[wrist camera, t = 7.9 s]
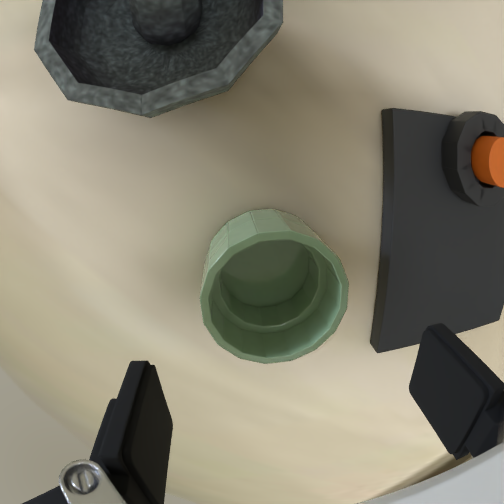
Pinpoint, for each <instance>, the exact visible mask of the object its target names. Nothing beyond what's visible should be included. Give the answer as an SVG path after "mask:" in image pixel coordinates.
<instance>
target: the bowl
mask: <svg viewBox="0 0 504 504" xmlns="http://www.w3.org/2000/svg"><path fill="white" fill-rule="evenodd" d="M348 287H349V283H348V279H347V277H346V274H345V271H344V269H343V266H342V264H341V261H340V259H339V258H338V256H337V255H336V254H335V253H334V252H333V251H332V250H331V249H330V248H329V247H328V246H327V245H326V244H325V243H324V242H323V241H322V239H321V238H320V237H319V236H318V235H317V234H316V233H315V232H314V231H313V230H312V229H311V228H310V227H309V226H307V225H306V224H305V223H304V222H303V221H302V220H301V219H300V218H299V217H297V216H295V215H292V214H289V213H286V212H283V211H280V210H277V209H275V210H274V209H263V210H251V211H248V212H246V213H244V214H242V215H240V216H238V217H236V218H234V219H232V220H230V221H229V222H227V223H226V224H225V225H224V226H223V227H222V228H221V230H220V231H219V232H218V233H217V234H216V235H215V237H214V238H213V239H212V241H211V244H210V247H209V250H208V253H207V256H206V260H205V265H204V272H203V278H202V285H201V291H200V304H201V311H202V317H203V323H204V325H205V326H206V328H207V329H208V331H209V332H210V334H211V335H212V337H213V338H214V340H215V341H216V343H217V344H218V345H219V346H221V347H222V348H224V349H225V350H227V351H229V352H230V353H232V354H233V355H235V356H236V357H238V358H240V359H244V360H249V361H254V362H259V363H264V364H268V363H277V362H285V361H291V360H294V359H297V358H299V357H301V356H303V355H305V354H308V353H310V352H312V351H314V350H316V349H317V348H318V347H319V346H320V345H321V344H323V343H324V342H325V341H326V340H327V339H328V338H329V337H330V336H331V335H332V334H333V333H334V332H335V331H336V329H337V327H338V325H339V323H340V321H341V319H342V317H343V315H344V313H345V311H346V309H347V301H348Z"/></svg>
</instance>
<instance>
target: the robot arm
mask: <svg viewBox="0 0 504 504" xmlns="http://www.w3.org/2000/svg"><path fill="white" fill-rule="evenodd" d="M409 391H410V394H411V395H412V397H413V398H414V400H415V401H416V403H417V404H418V406H419V407H420V409H421V411H422V412H423V414H424V415H425V417H426V418H427V420H428V421H429V423H430V424H431V426H432V427H433V429H434V430H435V432H436V434H437V435H438V437H439V438H440V440H441V441H442V443H443V445H444V446H445V448H446V449H447V451H448V452H449V453H450V454H453V455H454V457H455V458H456V460H457V459H460V458H462V457H464V456H466V455H468V453H469V452H470V453H471V455H472V458H471V460H469V461H467V462H465V463H463V464H461V465H459V466H457V467H455V468H453V469H450V470H448V471H446V472H444V473H442V474H439V475H437V476H435V477H432V478H430V479H427V480H425V481H422V482H420V483H417V484H415V485H412V486H409V487H407V488H404V489H401V490H398V491H396V492H393V493H390V494H387V495H384V496H380V497H377V498H374V499H371V500H367V501H364V502H360V503H356V504H504V383H503V382H502V381H501V380H500V379H499V378H498V377H497V376H496V374H495V373H494V372H493V371H492V370H491V369H490V368H489V367H488V366H487V365H486V364H485V363H484V362H483V361H482V360H481V359H480V358H479V357H478V356H477V355H476V354H475V353H474V352H473V351H472V350H471V349H470V348H469V347H467V346H466V345H465V344H464V343H463V342H462V341H461V340H460V339H459V338H458V337H457V336H456V335H455V334H454V333H453V332H452V331H451V330H450V329H449V328H448V327H447V326H445V325H444V324H443V323H438V324H433V325H429V326H427V328H426V330H425V331H424V332H423V334H422V338H421V342H420V347H419V351H418V355H417V359H416V362H415V366H414V370H413V374H412V377H411V381H410V384H409ZM172 430H173V423H172V418H171V415H170V412H169V409H168V406H167V403H166V400H165V397H164V394H163V390H162V387H161V384H160V381H159V377H158V374H157V371H156V367H155V366H154V365H150V363H149V362H148V361H131V362H130V364H129V367H128V369H127V372H126V375H125V378H124V380H123V383H122V386H121V389H120V391H119V394H118V397H117V399H111V400H110V402H109V404H108V407H107V409H106V412H105V415H104V418H103V421H102V423H101V426H100V429H99V432H98V435H97V438H96V441H95V444H94V447H93V450H92V453H91V456H90V459H89V460H76V461H73V462H71V463H69V464H68V465H66V466H65V467H64V468H63V469H62V471H61V473H60V475H59V484H60V486H58V487H56V488H54V489H52V490H50V491H48V492H46V493H44V494H41V495H39V496H37V497H35V498H33V499H31V500H29V501H27V502H24V503H23V504H164V497H165V488H166V478H167V470H168V461H169V453H170V445H171V437H172Z"/></svg>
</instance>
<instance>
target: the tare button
mask: <svg viewBox="0 0 504 504" xmlns="http://www.w3.org/2000/svg"><path fill="white" fill-rule="evenodd" d="M471 166H472V170H473V172H474V174H475V176H476V177H477V179H478V180H480V181H481V182H483V183H487V184H490V185H494V186H498V187H502V188H504V137H494V136H481V137H479V138H478V139H477V140H476V141H475V142H474V144H473V147H472V150H471Z"/></svg>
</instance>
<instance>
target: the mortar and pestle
mask: <svg viewBox="0 0 504 504" xmlns="http://www.w3.org/2000/svg"><path fill="white" fill-rule="evenodd" d="M282 23H283V0H43V2H42V7H41V12H40V17H39V22H38V28H37V34H36V41H35V48H34V50H35V52H36V53H37V55H38V56H39V58H40V60H41V61H42V63H43V64H44V66H45V67H46V69H47V70H48V72H49V73H50V75H51V76H52V78H53V79H54V81H55V82H56V84H57V85H58V87H59V88H60V90H61V91H62V92H63V94H64V95H65V97H66V98H67V100H70V101H75V102H80V103H84V104H90V105H95V106H100V107H105V108H109V109H114V110H119V111H123V112H128V113H132V114H136V115H140V116H145V117H149V118H152V117H155V116H157V115H160V114H163V113H165V112H168V111H171V110H173V109H176V108H179V107H181V106H184V105H187V104H190V103H193V102H196V101H199V100H201V99H204V98H208V97H211V96H214V95H217V94H220V93H223V92H226V91H228V90H229V89H230V88H231V87H232V85H233V84H234V83H235V82H236V81H237V79H238V78H239V77H240V76H241V74H242V73H243V72H244V71H245V70H246V68H247V67H248V66H249V65H250V64H251V63H252V61H253V60H254V59H255V58H256V57H257V56H258V54H259V53H260V52H261V51H262V50H263V49H264V48H265V47H266V45H267V44H268V43H269V42H270V41H271V40H272V39H273V38H274V37H275V35H276V34H277V33H278V31H279V29H280V27H281V25H282Z"/></svg>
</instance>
